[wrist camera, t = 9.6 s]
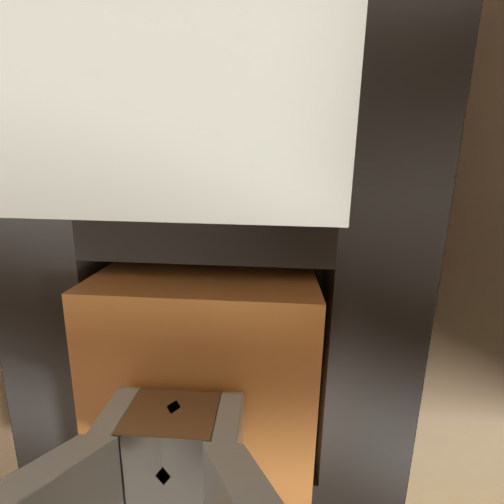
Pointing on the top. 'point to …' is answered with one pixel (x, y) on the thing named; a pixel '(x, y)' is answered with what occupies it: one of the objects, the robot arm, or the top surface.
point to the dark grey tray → (294, 263)
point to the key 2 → (208, 350)
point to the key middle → (180, 110)
